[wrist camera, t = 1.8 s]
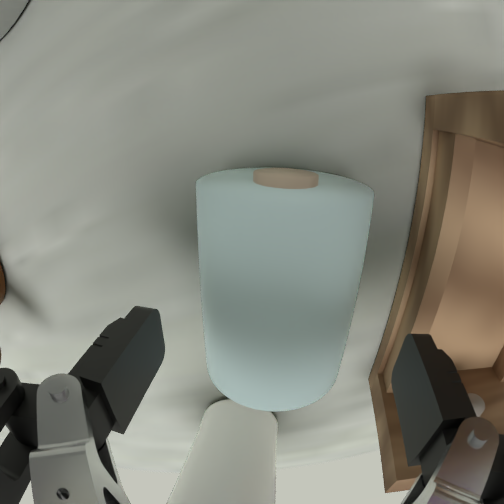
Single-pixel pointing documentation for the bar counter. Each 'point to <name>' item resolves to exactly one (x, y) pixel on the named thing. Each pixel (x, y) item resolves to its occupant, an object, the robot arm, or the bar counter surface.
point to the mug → (2, 291)
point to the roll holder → (451, 267)
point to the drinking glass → (230, 458)
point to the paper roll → (279, 280)
